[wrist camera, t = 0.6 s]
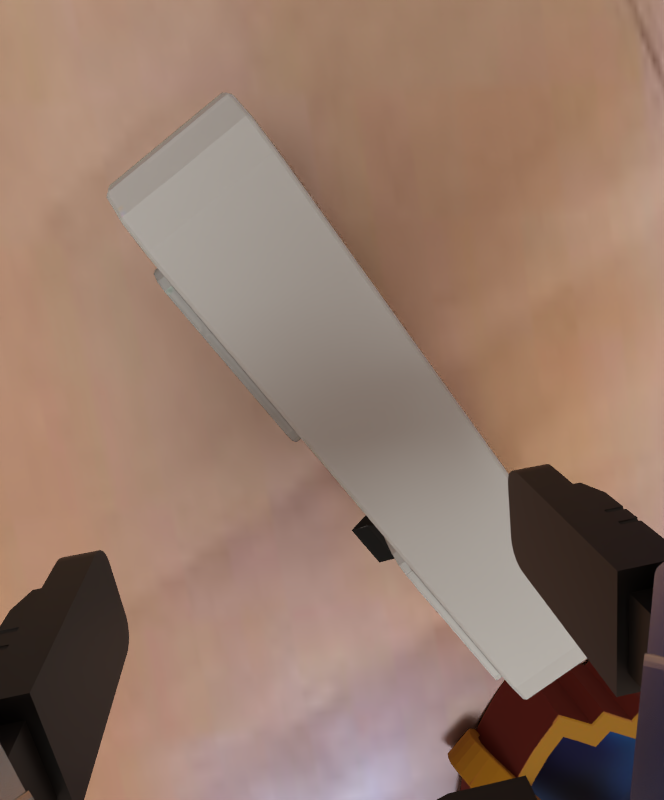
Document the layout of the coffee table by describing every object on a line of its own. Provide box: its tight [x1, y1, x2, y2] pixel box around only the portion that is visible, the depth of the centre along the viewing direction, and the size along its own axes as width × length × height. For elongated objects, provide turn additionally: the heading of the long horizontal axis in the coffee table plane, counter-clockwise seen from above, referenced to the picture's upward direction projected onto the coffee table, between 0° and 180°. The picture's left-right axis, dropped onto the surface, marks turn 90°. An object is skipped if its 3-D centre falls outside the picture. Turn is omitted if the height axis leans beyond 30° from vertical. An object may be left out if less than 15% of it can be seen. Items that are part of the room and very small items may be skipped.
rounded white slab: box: [107, 93, 587, 700], centre depth 31 cm, size 29×8×18 cm, turn 37°
